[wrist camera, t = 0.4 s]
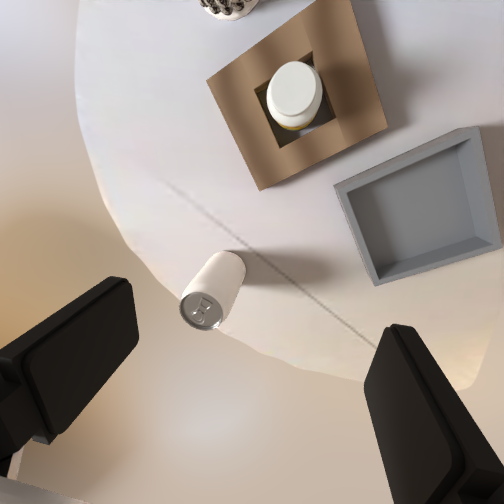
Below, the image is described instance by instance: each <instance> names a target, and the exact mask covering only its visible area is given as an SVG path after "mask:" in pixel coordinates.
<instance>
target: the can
mask: <svg viewBox="0 0 504 504" xmlns="http://www.w3.org/2000/svg"><path fill="white" fill-rule="evenodd" d="M245 274H246V268H245V265H244V262H243V261H242V259H241V258H240V257H239V256H237V255H236V254H234V253H232V252H228V251H221V252H218V253H216V254H214V255H213V256H212V257H211V258H210V259H209V260H208V262H207V263H206V264H205V265H204V266H203V268H202V269H201V270H200V271H199V273H198V274H197V275H196V276H195V278H194V279H193V280H192V281H191V282H190V284H189V285H188V286H187V288H186V289H185V291H184V292H183V295H182V299H181V301H180V305H179V310H180V314H181V316H182V317H183V319H184V320H185V321H186V322H187V323H188V324H189V325H190V326H192V327H194V328H196V329H199V330H205V331H207V330H213V329H215V328H217V327H218V326H219V325H220V324H221V322H223V321H224V320H225V319H226V318H227V316H228V315H229V313H230V310H231V308H232V306H233V304H234V301H235V299H236V297H237V294H238V292H239V289H240V287H241V285H242V282H243V280H244V277H245Z"/></svg>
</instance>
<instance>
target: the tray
mask: <svg viewBox="0 0 504 504" xmlns="http://www.w3.org/2000/svg"><path fill="white" fill-rule="evenodd" d="M333 186H334V188H335V191H336V194H337V196H338V199H339V201H340V204H341V206H342V209H343V211H344V214H345V217H346V219H347V222H348V224H349V227H350V229H351V232H352V235H353V237H354V240H355V242H356V245H357V247H358V250H359V253H360V255H361V258H362V260H363V263H364V265H365V268H366V270H367V273H368V275H369V277H370V279H371V281H372V283H373V284H374V286H379V285H382V284H385V283H388V282H392V281H395V280H398V279H402V278H405V277H408V276H412V275H415V274H418V273H422V272H425V271H428V270H431V269H435V268H438V267H441V266H445V265H448V264H451V263H455V262H458V261H461V260H465V259H468V258H471V257H474V256H478V255H481V254H484V253H488V252H491V251H494V250H498V249H501V248H503V247H502V242H501V237H500V232H499V227H498V222H497V216H496V211H495V206H494V201H493V196H492V191H491V186H490V181H489V176H488V171H487V166H486V161H485V155H484V150H483V145H482V140H481V135H480V130H479V126H474V127H466V128H458V129H455V130H453V131H451V132H449V133H447V134H445V135H442V136H440V137H438V138H436V139H434V140H431V141H429V142H427V143H425V144H423V145H421V146H418V147H416V148H414V149H412V150H410V151H407V152H405V153H403V154H401V155H399V156H397V157H394V158H392V159H390V160H388V161H386V162H383V163H381V164H379V165H377V166H375V167H373V168H370V169H368V170H366V171H364V172H362V173H359V174H357V175H355V176H353V177H351V178H349V179H346V180H344V181H342V182H340V183H338V184H335V185H333Z"/></svg>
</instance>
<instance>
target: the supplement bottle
mask: <svg viewBox="0 0 504 504" xmlns="http://www.w3.org/2000/svg"><path fill="white" fill-rule="evenodd" d="M321 99H322V84H321V80H320V78H319V76H318V74H317V72H316V71H315V70H314V69H313V68H312V67H311V66H309V65H307V64H305V63H303V62H299V61H293V62H288V63H286V64H285V65H283V66H282V67H280V68H279V69H278V71H277V72H276V73H275V74H274V76H273V77H272V79H271V81H270V83H269V86H268V90H267V105H268V108H269V111H270V113H271V115H272V117H273V118H274V119H275V120H276V121H277V123H278V124H279V125H280V126H281V127H283V128H284V129H287V130H291V131H297V130H301V129H304V128H305V127H307V126H308V125H309V124H310V123H311V122H312V121H313V119H314V117H315V116H316V113H317V111H318V108H319V106H320V103H321Z"/></svg>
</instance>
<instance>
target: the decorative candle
mask: <svg viewBox="0 0 504 504" xmlns="http://www.w3.org/2000/svg"><path fill="white" fill-rule="evenodd" d="M258 2H259V0H199V3H200V4H201V6H203V7H204V8H205V10H206V11H207V12H208V13H210V14H211V15H213V16H214V17H216V18H217V19H219V20H227V21H235V20H237V19H239V18H241V17H243V16H245V15H247V14H248V13H249V12H250V11H251V10H252V9H253V7H254V6H255V5H256V4H257V3H258Z"/></svg>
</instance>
